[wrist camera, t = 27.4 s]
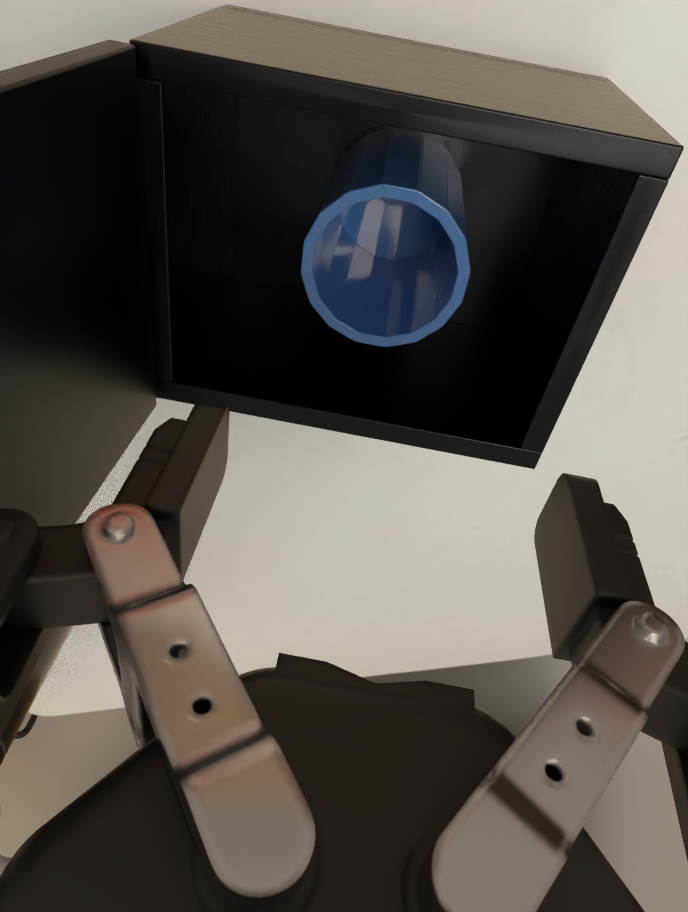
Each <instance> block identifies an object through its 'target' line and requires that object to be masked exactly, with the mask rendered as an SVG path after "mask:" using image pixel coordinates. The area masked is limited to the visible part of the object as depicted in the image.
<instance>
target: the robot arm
mask: <svg viewBox="0 0 688 912" xmlns="http://www.w3.org/2000/svg"><path fill="white" fill-rule="evenodd" d="M228 433H229V408H228V407H225V406H220V405H215V404H210V403H204V402H199V401H197V402H196V403H195V405H194V407H193V409H192V411H191V413H190V415H189V417H188V419H187V421H185V420H180V419H175V418H170V419H169V420H167V421H166V422H165V423H163V424H162V425H160V426H159V427H158V428H156V429H155V430H154V432H153V434H152V435H151V437H150V439H149V441H148V442H147V444H146V447H145V448H144V449H143V451H142V453H141V455H140V456H139V460H137V462H136V463H135V465H134V467H133V469H132V470H131V472H130V474H129V475H128V477H127V479H126V481H125V482H124V484H123V486H122V488H121V489H120V491H119V493H118V495H117V496H116V498H115V500H114V502H113V503H112V505H108V506H105V507H102V508H100V509H98V510H97V511H95V512H93V513H92V514H91V515H90V516H89V517H88V518H87V520H86V521H85V522H83V523H78V524H72V525H59V526H43V527H38V524H37V522H36V520H35V519H34V517H33V516H31V515H30V514H29V513H27V512H25V511H22V510H18V509H12V508H2V509H0V765H1V763H2V761H3V759H4V757H5V755H6V753H7V751H8V749H9V747H10V745H11V743H12V741H13V740H14V738H15V739H18V738H23V737H25V736H26V735H27V734H28V733H29V732H30V730H31V729H32V727H33V725H34V723H35V721H36V719H37V716H38V715H34V714H31V717H30V719H29V721H28V723H27V725H26V727H25V728H24V729H23V730H22V731H20V732H18V730H19V728H20V726H21V724H22V722H23V720H24V719H25V717H26V715H27V713H28V711H29V709H30V707H31V705H32V703H33V701H34V700H35V698H36V696H37V694H38V692H39V690H40V688H41V686H42V684H43V682H44V681H45V679H46V677H47V675H48V673H49V671H50V669H51V667H52V665H53V663H54V661H55V660H56V658H57V656H58V654H59V652H60V650H61V648H62V646H63V644H64V642H65V640H66V639H67V637H68V635H69V633H70V631H71V629H72V627H73V626H74V625H83V624H93V623H98V625H99V628H100V631H101V634H102V637H103V639H104V642H105V645H106V648H107V651H108V654H109V657H110V660H111V663H112V666H113V668H114V671H115V674H116V677H117V680H118V683H119V686H120V689H121V692H122V696H123V699H124V703H125V708H126V712H127V715H128V718H129V722H130V725H131V729H132V732H133V735H134V738H135V740H136V744H137V746H138V749H139V750H137V751H136V752H135V753H134V754H132V755H131V756H130V757H129V758H127V759H126V760H125V761H124V762H122V763H121V764H120V765H119V766H117V767H116V768H115V769H114V770H112V771H111V772H110V773H108V774H107V775H106V776H105V777H104V778H102V779H101V780H100V781H98V782H97V783H96V784H95V785H93V786H92V787H91V788H90V789H88V790H87V791H86V792H85V793H83V794H82V795H81V796H79V797H78V798H77V799H76V800H74V801H73V802H72V803H71V804H69V805H68V806H67V807H66V808H64V809H63V810H62V811H61V812H59V813H58V814H57V815H56V816H54V817H53V818H52V819H50V820H49V821H48V822H47V823H46V824H44V825H43V826H42V827H40V828H39V829H38V830H37V831H36V832H35V833H34V834H32V835H31V836H30V837H29V838H28V839H27V840H26V841H25V843H24V844H23V845H22V846H21V847H20V848H19V849H18V851H17V852H16V853H15V854H14V856H13V857H12V858H8V857H4V856H2V855H0V912H644V910H643V909H642V907H641V906H640V905H639V903H638V902H637V900H636V899H635V898H634V896H633V895H632V894H631V892H630V891H629V889H628V888H627V887H626V885H625V884H624V883H623V881H622V880H621V878H620V877H619V876H618V874H617V873H616V872H615V870H614V869H613V868H612V866H611V865H610V863H609V862H608V861H607V859H606V858H605V857H604V855H603V854H602V852H601V851H600V850H599V848H598V847H597V846H596V844H595V843H594V841H593V840H592V839H591V837H590V836H589V835H588V833H587V832H586V831H585V829H584V828H583V826H584V824H585V823H586V821H587V819H588V817H589V816H590V814H591V813H592V811H593V809H594V808H595V806H596V804H597V803H598V801H599V799H600V797H601V796H602V794H603V793H604V791H605V789H606V788H607V786H608V784H609V783H610V781H611V779H612V778H613V776H614V774H615V772H616V771H617V769H618V768H619V766H620V764H621V763H622V761H623V759H624V758H625V756H626V754H627V753H628V751H629V749H630V748H631V746H632V744H633V742H634V741H635V739H636V738H637V736H638V734H639V733H640V731H641V732H643V733H645V734H647V735H649V736H651V737H653V738H655V739H657V740H659V741H661V742H662V747H663V751H664V756H665V760H666V765H667V769H668V774H669V778H670V783H671V788H672V792H673V796H674V801H675V805H676V810H677V815H678V819H679V824H680V828H681V833H682V837H683V842H684V847H685V851H686V855H687V860H688V643H687V642H686V641H685V640H684V637H683V634H682V632H681V630H680V628H679V627H678V625H677V624H676V623H675V621H674V620H673V619H672V618H671V617H670V616H669V615H667V614H666V613H665V612H663V611H662V610H660V609H659V608H657V607H655V605H654V602H653V599H652V596H651V593H650V590H649V587H648V584H647V580H646V577H645V574H644V571H643V568H642V565H641V562H640V559H639V557H637V554H638V553H637V550H636V547H635V544H634V543H633V537H632V534H631V531H630V528H629V525H628V522H627V521H626V519H625V518H624V517H623V516H622V514H621V513H620V512H619V510H618V509H617V508H616V507H615V505H614V504H609V503H604V501H603V498H602V495H601V491H600V488H599V484H598V482H597V481H596V480H595V479H591V478H586V477H581V476H576V475H571V474H565V473H564V474H562V475H561V476H560V477H559V478H558V480H557V482H556V484H555V486H554V488H553V490H552V492H551V494H550V496H549V498H548V500H547V502H546V504H545V506H544V508H543V510H542V512H541V514H540V516H539V518H538V520H537V524H536V528H535V537H534V539H535V548H536V554H537V560H538V567H539V573H540V579H541V585H542V592H543V598H544V604H545V610H546V616H547V623H548V629H549V635H550V641H551V647H552V654H553V658H557V659H562V660H567V661H571V662H572V667H571V668H570V670H569V671H568V672H567V674H566V675H565V676H564V678H563V679H562V680H561V682H560V683H559V684H558V685H557V687H556V688H555V689H554V690H553V692H552V693H551V694H550V696H549V697H548V698H547V700H546V701H545V702H544V703H543V705H542V706H541V707H540V708H539V710H538V711H537V712H536V714H535V715H534V716H533V717H532V719H531V720H530V721H529V723H528V724H527V725H526V726H525V728H524V729H523V730H522V732H521V733H520V734H519V735H518V737H516V736H515V735H514V734H513V733H512V732H511V731H510V730H509V729H508V728H507V727H506V726H505V725H503V723H501V722H500V721H499V720H497V719H496V718H495V717H493V716H492V715H490V714H489V713H487V712H485V711H484V710H482V709H480V708H478V707H476V706H475V705H474V690H472V689H467V688H461V687H456V686H451V685H445V684H441V683H435V682H430V681H413V682H396V683H374V682H371V681H369V680H366V679H364V678H362V677H360V676H357V675H355V674H353V673H351V672H348V671H346V670H344V669H342V668H339V667H337V666H335V665H333V664H330V663H328V662H325V661H319V660H314V659H309V658H303V657H298V656H293V655H288V654H282V653H279V656H278V660H277V665H276V667H274V668H264V669H258V670H253V671H250V672H247V673H244V674H241V675H238V673H237V671H236V669H235V667H234V665H233V663H232V661H231V659H230V657H229V655H228V653H227V651H226V649H225V647H224V644H223V642H222V640H221V638H220V636H219V634H218V632H217V630H216V628H215V626H214V624H213V622H212V620H211V618H210V616H209V614H208V612H207V610H206V608H205V606H204V603H203V601H202V599H201V597H200V595H199V593H198V591H197V590H196V588H195V587H194V586H193V585H192V584H188V585H186V584H185V583H184V581H183V579H184V577H185V574H186V572H187V569H188V566H189V564H190V561H191V559H192V556H193V554H194V551H195V549H196V546H197V544H198V541H199V539H200V536H201V534H202V531H203V528H204V526H205V523H206V521H207V518H208V516H209V513H210V511H211V508H212V506H213V503H214V501H215V498H216V496H217V493H218V491H219V488H220V485H221V483H222V480H223V477H224V473H225V469H226V464H227V455H228Z"/></svg>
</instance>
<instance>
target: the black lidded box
mask: <svg viewBox="0 0 688 912" xmlns="http://www.w3.org/2000/svg"><path fill="white" fill-rule="evenodd" d="M130 44H132V45H134V46H135V53H136V70H137V87H138V104H139V121H140V138H141V155H142V172H143V189H144V206H145V223H146V240H147V257H148V274H149V291H150V308H151V325H152V342H153V359H154V376H155V393H156V397H158V398H163V399H168V400H174V401H179V402H184V403H190V404H195V403H196V402H197V401H199V402H204V403H210V404H215V405H220V406H225V407H228V408H229V411H232V412H237V413H242V414H247V415H253V416H258V417H263V418H269V419H274V420H279V421H284V422H290V423H295V424H300V425H305V426H311V427H316V428H321V429H327V430H332V431H337V432H342V433H348V434H353V435H358V436H363V437H369V438H374V439H379V440H384V441H390V442H395V443H400V444H406V445H411V446H416V447H421V448H427V449H432V450H437V451H442V452H448V453H453V454H458V455H463V456H469V457H474V458H479V459H485V460H490V461H495V462H500V463H506V464H511V465H516V466H521V467H527V468H532V469H535V467H536V465H537V462H538V460H539V458H540V456H541V454H542V452H543V450H544V448H545V445H546V443H547V441H548V439H549V437H550V435H551V433H552V430H553V428H554V426H555V424H556V422H557V420H558V418H559V415H560V413H561V411H562V409H563V407H564V405H565V402H566V400H567V398H568V396H569V394H570V392H571V390H572V387H573V385H574V383H575V381H576V379H577V377H578V375H579V372H580V370H581V368H582V366H583V364H584V362H585V360H586V357H587V355H588V353H589V351H590V349H591V347H592V345H593V342H594V340H595V338H596V336H597V334H598V332H599V330H600V327H601V325H602V323H603V321H604V319H605V317H606V314H607V312H608V310H609V308H610V306H611V304H612V302H613V299H614V297H615V295H616V293H617V291H618V289H619V287H620V284H621V282H622V280H623V278H624V276H625V274H626V272H627V269H628V267H629V265H630V263H631V261H632V259H633V257H634V254H635V252H636V250H637V248H638V246H639V244H640V241H641V239H642V237H643V235H644V233H645V231H646V229H647V226H648V224H649V222H650V220H651V218H652V216H653V214H654V211H655V209H656V207H657V205H658V203H659V201H660V199H661V196H662V194H663V192H664V190H665V188H666V186H667V184H668V181H669V180H668V179H669V178H670V177H671V174H672V172H673V170H674V168H675V166H676V164H677V162H678V159H679V157H680V155H681V153H682V151H683V146H682V145H681V144H680V143H679V142H677V141H676V140H675V139H674V138H673V137H672V136H671V135H670V134H669V133H668V132H666V131H665V130H664V129H663V128H662V127H661V126H660V125H659V124H658V123H657V122H655V121H654V120H653V119H652V118H651V117H650V116H649V115H648V114H647V113H646V112H644V111H643V110H642V109H641V108H640V107H639V106H638V105H637V104H636V103H635V102H633V101H632V100H631V99H630V98H629V97H628V96H627V95H626V94H625V93H623V92H622V91H621V90H620V89H619V88H618V87H617V86H616V85H615V84H614V83H612V82H611V81H610V80H609V79H607V78H602V77H597V76H592V75H587V74H582V73H576V72H571V71H566V70H561V69H556V68H551V67H546V66H540V65H535V64H530V63H525V62H520V61H515V60H509V59H504V58H499V57H494V56H489V55H484V54H479V53H473V52H468V51H463V50H458V49H453V48H448V47H442V46H437V45H432V44H427V43H422V42H417V41H412V40H406V39H401V38H396V37H391V36H386V35H381V34H376V33H370V32H365V31H360V30H355V29H350V28H345V27H339V26H334V25H329V24H324V23H319V22H314V21H309V20H303V19H298V18H293V17H288V16H283V15H278V14H273V13H267V12H262V11H257V10H252V9H247V8H242V7H236V6H231V5H224V6H222V7H218V8H216V9H213V10H210V11H207V12H205V13H202V14H199V15H197V16H194V17H191V18H188V19H186V20H183V21H180V22H177V23H175V24H172V25H169V26H167V27H164V28H161V29H158V30H156V31H153V32H150V33H148V34H145V35H142V36H139V37H137V38H134V39H131V40H130ZM390 127H400V128H405V129H410V130H416V131H421V132H424V133H426V134H428V135H430V136H431V137H433V138H435V139H436V140H437V141H438V142H440V143H441V144H442V145H443V146H444V147H445V148H446V149H447V150H448V152H449V153H450V154H451V156H452V157H453V159H454V161H455V163H456V165H457V167H458V169H459V172H460V174H461V178H462V184H463V193H464V201H465V212H466V223H467V234H468V246H469V257H470V268H471V271H470V277H469V280H468V284H467V287H466V291H465V294H464V298H463V301H462V302H461V305H460V306H459V307H458V308H457V309H456V311H455V312H454V313H453V314H452V316H451V317H450V318H449V319H448V321H447V322H446V323H445V324H444V326H442V327H441V328H440V329H438V330H436V331H434V332H433V333H431V334H429V335H427V336H426V337H424V338H422V339H420V340H419V341H417V342H414V343H409V344H402V345H396V346H390V347H381V346H375V345H370V344H365V343H359V342H356V341H353V340H351V339H350V338H348V337H346V336H344V335H343V334H341V333H339V332H338V331H336V330H334V329H333V328H331V327H330V326H328V325H327V323H326V322H325V321H324V320H323V319H322V317H321V316H320V315H319V314H318V312H317V311H316V310H315V309H314V307H313V306H312V305H311V304H310V302H309V299H308V296H307V293H306V289H305V286H304V283H303V280H302V276H301V271H300V270H301V260H302V251H303V242H304V239H305V236H306V234H307V232H308V230H309V227H310V225H311V223H312V220H313V218H314V216H315V213H316V211H317V209H318V207H319V204H320V202H321V200H322V197H323V195H324V193H325V190H326V188H327V186H328V183H329V181H330V179H331V177H332V175H333V173H334V171H335V169H336V168H337V166H338V163H339V161H340V160H341V158H342V157H343V155H344V154H345V153H346V152H347V150H348V149H349V148H350V147H351V146H352V145H353V144H354V143H355V142H357V141H358V140H359V139H361V138H362V137H364V136H365V135H368V134H370V133H372V132H374V131H377V130H380V129H384V128H390Z"/></svg>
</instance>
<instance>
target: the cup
mask: <svg viewBox="0 0 688 912" xmlns="http://www.w3.org/2000/svg"><path fill="white" fill-rule="evenodd" d="M300 271H301V276H302V280H303V283H304V286H305V289H306V293H307V296H308V299H309V302H310V304H311V305H312V306H313V307H314V309H315V310H316V311H317V312H318V314H319V315H320V316H321V317H322V319H323V320H324V321H325V322H326V323H327V325H328V326H330V327H331V328H333V329H334V330H336V331H338V332H339V333H341V334H343V335H344V336H346V337H348V338H350V339H351V340H353V341H356V342H359V343H365V344H370V345H375V346H381V347H390V346H396V345H402V344H409V343H414V342H417V341H419V340H420V339H422V338H424V337H426V336H427V335H429V334H431V333H433V332H434V331H436V330H438V329H440V328H441V327H442V326H444V324H445V323H446V322H447V321H448V319H449V318H450V317H451V316H452V314H453V313H454V312H455V311H456V309H457V308H458V307H459V306H460V305H461V302H462V301H463V298H464V294H465V291H466V287H467V284H468V280H469V277H470V271H471V268H470V257H469V246H468V234H467V223H466V212H465V201H464V193H463V184H462V178H461V174H460V172H459V169H458V167H457V165H456V163H455V161H454V159H453V157H452V156H451V154H450V153H449V152H448V150H447V149H446V148H445V147H444V146H443V145H442V144H441V143H440V142H438V141H437V140H436V139H435V138H433V137H431V136H430V135H428V134H426V133H424V132H421V131H416V130H410V129H405V128H400V127H390V128H384V129H380V130H377V131H374V132H372V133H370V134H368V135H365V136H364V137H362V138H361V139H359V140H358V141H357V142H355V143H354V144H353V145H352V146H351V147H350V148H349V149H348V150H347V152H346V153H345V154H344V155H343V157H342V158H341V160H340V161H339V163H338V166H337V168H336V169H335V171H334V173H333V175H332V177H331V179H330V181H329V183H328V186H327V188H326V190H325V193H324V195H323V197H322V200H321V202H320V204H319V207H318V209H317V211H316V213H315V216H314V218H313V220H312V223H311V225H310V227H309V230H308V232H307V234H306V236H305V239H304V242H303V251H302V260H301V270H300Z"/></svg>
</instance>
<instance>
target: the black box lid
mask: <svg viewBox="0 0 688 912" xmlns="http://www.w3.org/2000/svg"><path fill="white" fill-rule="evenodd" d="M155 406H156V393H155V376H154V359H153V342H152V325H151V308H150V291H149V274H148V257H147V240H146V223H145V206H144V189H143V172H142V155H141V138H140V121H139V104H138V87H137V70H136V53H135V46H134V45H132V44H128V43H123V42H118V41H114V40H107V41H104V42H100V43H97V44H93V45H90V46H86V47H83V48H79V49H76V50H73V51H69V52H66V53H62V54H59V55H55V56H52V57H48V58H45V59H41V60H38V61H34V62H31V63H27V64H24V65H20V66H17V67H14V68H10V69H7V70H3V71H0V509H2V508H12V509H18V510H22V511H25V512H27V513H29V514H30V515H31V516H33V517H34V519H35V520H36V522H37V524H38V527H43V526H59V525H72V524H75V523H76V522H77V520H78V519H79V517H80V516H81V514H82V513H83V511H84V510H85V509H86V507H87V506H88V504H89V503H90V501H91V500H92V498H93V497H94V495H95V494H96V492H97V491H98V490H99V488H100V487H101V485H102V484H103V482H104V481H105V479H106V478H107V476H108V475H109V473H110V472H111V471H112V469H113V468H114V466H115V465H116V463H117V462H118V460H119V459H120V457H121V456H122V454H123V453H124V452H125V450H126V449H127V447H128V446H129V444H130V443H131V441H132V440H133V438H134V437H135V435H136V434H137V432H138V431H139V430H140V428H141V427H142V425H143V424H144V422H145V421H146V419H147V418H148V416H149V415H150V413H151V412H152V411H153V409H154V408H155Z"/></svg>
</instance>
